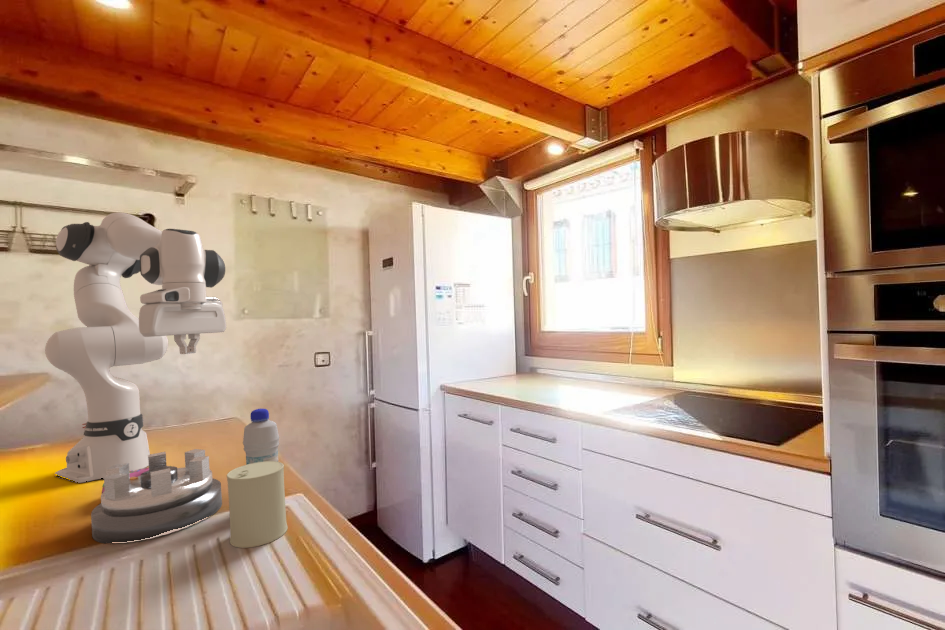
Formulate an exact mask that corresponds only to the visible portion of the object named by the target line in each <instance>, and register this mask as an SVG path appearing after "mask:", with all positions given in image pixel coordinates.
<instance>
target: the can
mask: <svg viewBox="0 0 945 630" xmlns="http://www.w3.org/2000/svg"><path fill="white" fill-rule="evenodd" d="M284 467H285V465H284V463H282V462H281V461H278V462H277V461H265V462H257V463H252V464H247V465H246V464H245V465H241V466H238V467H236V468H233V469H232V470H230V471H229V472H227V474H226V482H227V493H228V506H229V507H228V509H229V529H230V531H229V532H230V535H229V537H230V538H229V543H230V545H231V546H233V547H235V548H241V549H246V548H247V549H248V548H256V547H259V546H263V545H267V544H270V543H272V542H274V541H276V540H278V539H280V538H281V537H283V536H284V535H285V534H286V533H287V532H288V524H287V512H286V511H287V510H286V495H285V494H286V493H285V491H286V490H285V473H284V470H285V469H284Z"/></svg>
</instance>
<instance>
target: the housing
mask: <svg viewBox="0 0 945 630" xmlns="http://www.w3.org/2000/svg"><path fill="white" fill-rule="evenodd" d="M212 480H213V485H212V487H211V489H210V490H209V491H207V492H206V493H204V494H203V495H201V496H199V497H197V498H195V499H193V500H190V501H188V502H185V503H182V504H179V505H176V506H173V507H170V508H166V509H162V510H158V511H153V512H148V513H143V514H135V515H124V516H116V515H108V514H105V513H103V512H102V506H101V503H99V504H98V505H96V506H95V507H94V508H93V509H92V511H91V513H90V517H91V534H92V535H91V536H92V539H93V540H94V541H95V542H98V543H101V544H106V543H112V542H127V541H134V540H141V539H145V538H150V537H153V536H156V535H159V534H161V533H164V532H167V531H170V530H173V529H178V528H182V527H185V526H187V525H190V524H193V523H195V522H197V521H199V520H202V519H204V518H206V517H209V516H211V515H212V516H214V515H215V514H216V513H217V512H218V511H220V509H221V508H222V505H223V497H222V496H223V495H222V483H221V481H220V480H218V479H217V478H213V477H212ZM212 516H211V517H212ZM209 518H210V517H209Z"/></svg>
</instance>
